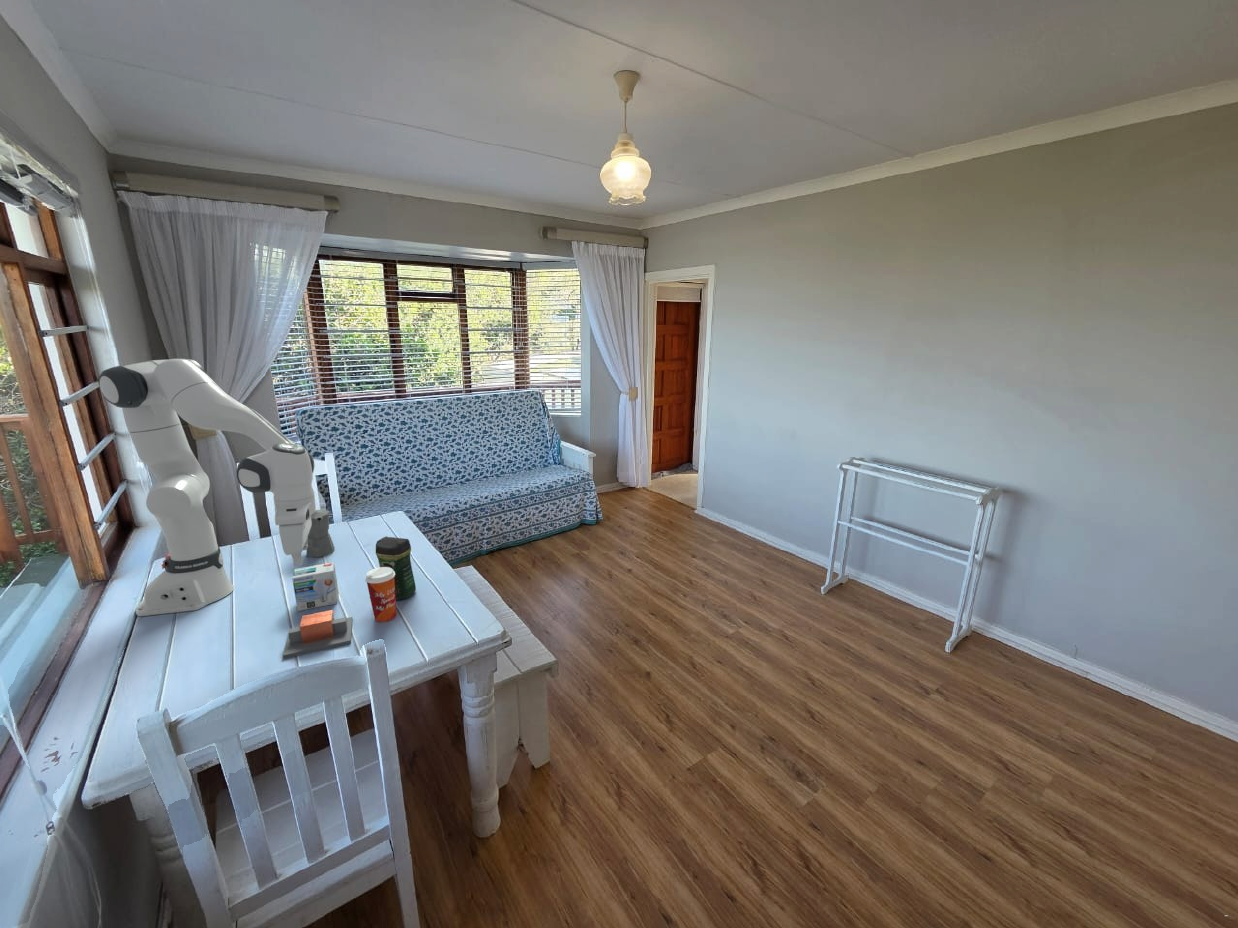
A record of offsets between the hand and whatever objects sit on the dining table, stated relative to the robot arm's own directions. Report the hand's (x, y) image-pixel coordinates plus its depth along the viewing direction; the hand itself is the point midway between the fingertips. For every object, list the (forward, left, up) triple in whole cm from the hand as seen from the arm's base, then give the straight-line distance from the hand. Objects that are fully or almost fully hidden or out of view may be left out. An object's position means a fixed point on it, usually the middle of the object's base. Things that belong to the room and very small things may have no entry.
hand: (301, 556), depth 131 cm
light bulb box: (0, +15, -22) cm, 26 cm away
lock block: (+2, -6, -21) cm, 21 cm away
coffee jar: (+22, +10, -22) cm, 32 cm away
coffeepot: (-3, +55, -22) cm, 59 cm away
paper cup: (+18, -2, -22) cm, 28 cm away
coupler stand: (+2, -6, -22) cm, 22 cm away
